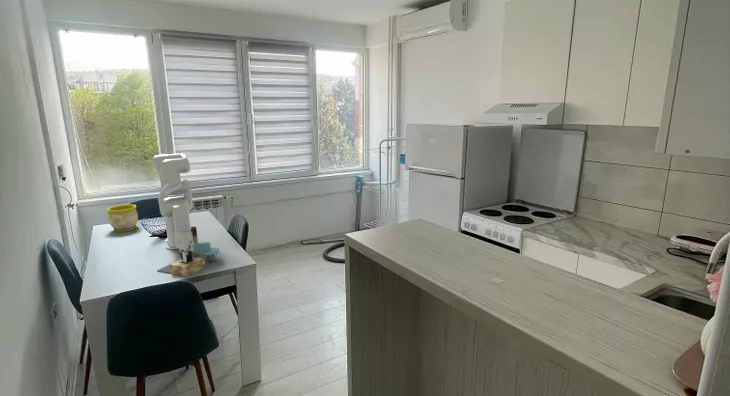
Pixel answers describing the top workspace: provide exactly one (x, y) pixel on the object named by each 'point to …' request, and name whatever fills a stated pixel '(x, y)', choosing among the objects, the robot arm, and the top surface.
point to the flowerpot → (123, 217)
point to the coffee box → (194, 238)
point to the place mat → (165, 269)
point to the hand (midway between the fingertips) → (187, 260)
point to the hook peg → (185, 257)
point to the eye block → (187, 266)
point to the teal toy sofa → (206, 250)
